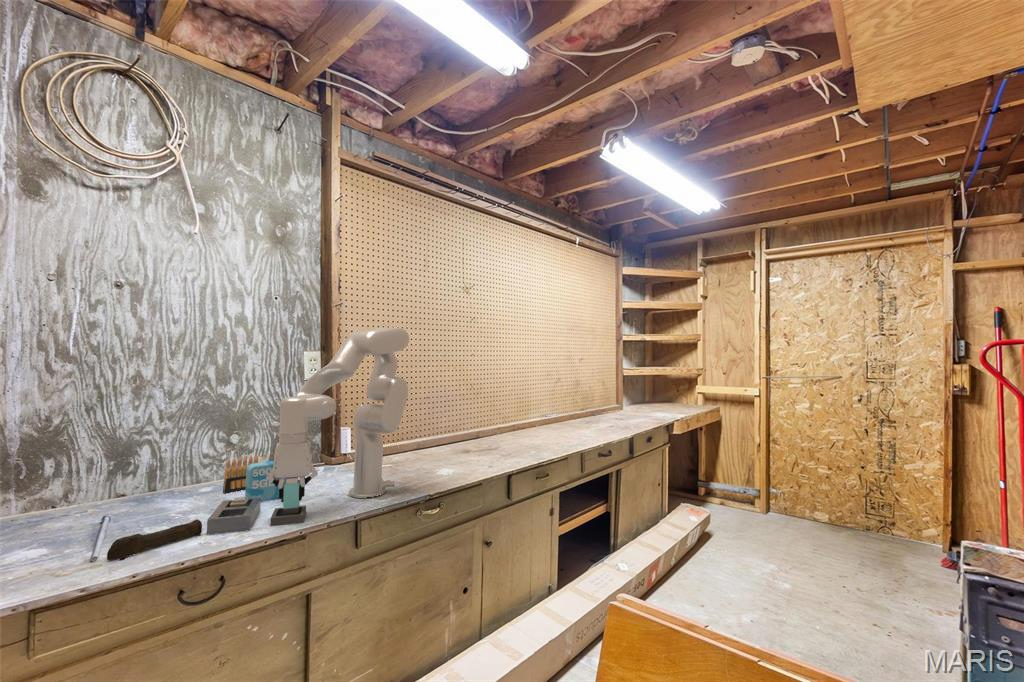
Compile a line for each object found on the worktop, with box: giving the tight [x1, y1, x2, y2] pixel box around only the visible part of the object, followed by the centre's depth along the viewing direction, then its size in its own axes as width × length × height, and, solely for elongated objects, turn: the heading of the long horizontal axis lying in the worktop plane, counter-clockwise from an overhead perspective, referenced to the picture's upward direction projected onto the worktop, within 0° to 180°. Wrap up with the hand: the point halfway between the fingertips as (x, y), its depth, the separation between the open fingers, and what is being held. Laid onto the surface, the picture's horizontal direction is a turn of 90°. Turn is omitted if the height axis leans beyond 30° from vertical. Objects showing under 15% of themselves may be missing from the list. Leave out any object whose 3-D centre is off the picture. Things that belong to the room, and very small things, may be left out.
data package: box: [244, 460, 286, 503], centre depth 144 cm, size 12×4×12 cm, turn 134°
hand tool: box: [106, 519, 203, 561], centre depth 107 cm, size 19×4×5 cm, turn 149°
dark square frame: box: [269, 505, 307, 527], centre depth 127 cm, size 8×8×2 cm
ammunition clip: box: [222, 453, 259, 495], centre depth 153 cm, size 11×2×12 cm, turn 139°
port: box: [206, 496, 262, 535], centre depth 124 cm, size 10×16×5 cm, turn 21°
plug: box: [282, 477, 301, 514], centre depth 128 cm, size 4×4×10 cm
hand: (291, 499), depth 128 cm, fingers closed on plug, 4 cm apart
